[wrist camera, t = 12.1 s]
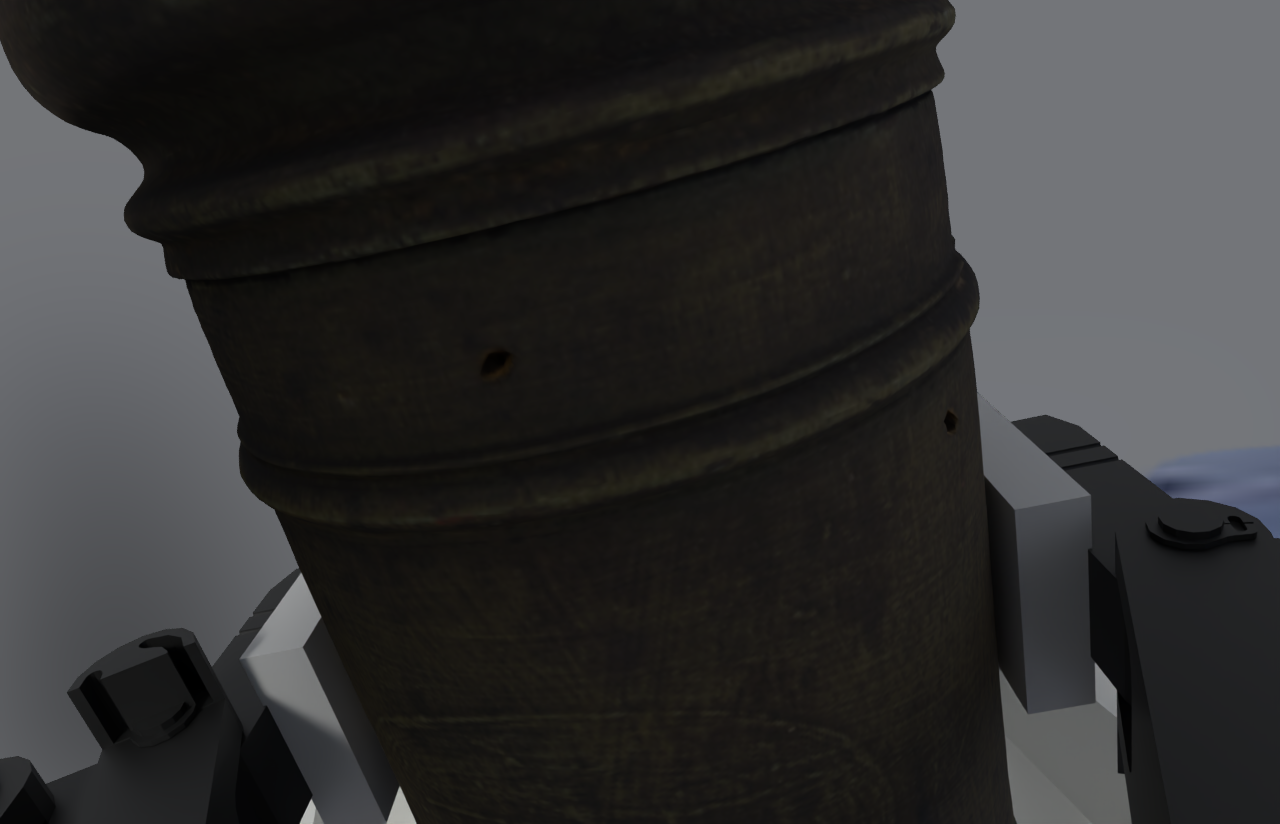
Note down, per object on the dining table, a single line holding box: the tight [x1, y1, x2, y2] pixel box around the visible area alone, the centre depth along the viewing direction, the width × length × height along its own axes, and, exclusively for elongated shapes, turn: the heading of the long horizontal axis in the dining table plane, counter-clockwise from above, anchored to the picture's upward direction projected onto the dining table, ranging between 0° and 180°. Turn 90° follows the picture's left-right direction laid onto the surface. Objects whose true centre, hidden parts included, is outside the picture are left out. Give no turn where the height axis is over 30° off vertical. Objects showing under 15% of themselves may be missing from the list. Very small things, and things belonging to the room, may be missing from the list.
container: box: [0, 0, 1017, 824], centre depth 11 cm, size 9×9×18 cm
